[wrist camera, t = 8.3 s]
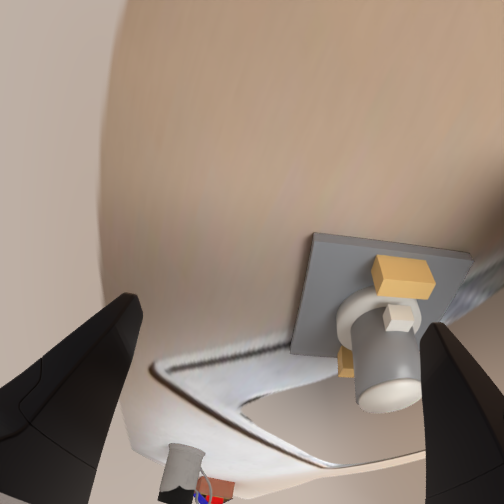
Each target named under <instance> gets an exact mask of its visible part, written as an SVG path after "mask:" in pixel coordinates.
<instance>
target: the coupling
mask: <svg viewBox="0 0 504 504" xmlns="http://www.w3.org/2000/svg"><path fill="white" fill-rule="evenodd" d="M414 321H415V320H414V316H413V313H412V310H411V306H404V305H390V304H388V305H387V307H379V308H375V309H372V310H370V311H368V312H366V313H364V314H362V315H361V316H360V317H358V318H357V319H356V320H355V321H354V323H353V324H352V326H351V330H350V333H351V343H352V354H353V366H354V379H355V392H356V393H355V394H356V403H357V404H358V405H359V407H360V408H361V409H362V410H363V411H366V412H369V413H389V412H394V411H398V410H401V409H404V408H406V407H409V406H411V405H413V404H414V403H416V402H417V401H419V400H420V399H421V398H422V393H421V370H420V354H419V350H418V346H417V342H416V338H415V334H414V330H413V326H412V325H413V323H414Z"/></svg>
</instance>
